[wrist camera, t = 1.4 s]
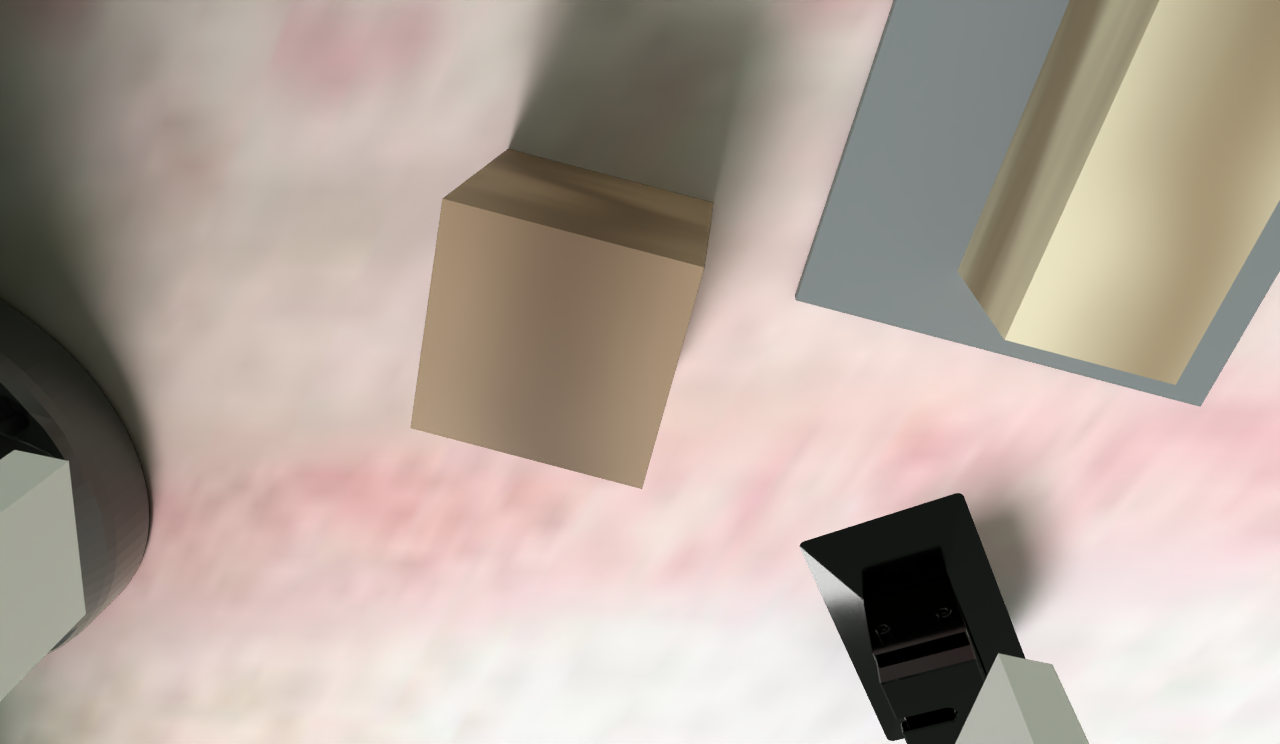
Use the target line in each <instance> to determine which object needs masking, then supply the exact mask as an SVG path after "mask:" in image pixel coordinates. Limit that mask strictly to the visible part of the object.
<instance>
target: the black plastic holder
mask: <svg viewBox="0 0 1280 744" xmlns="http://www.w3.org/2000/svg"><path fill="white" fill-rule="evenodd" d="M800 549H801V551H802V553H803V556H804V558H805V560H806V562H807V564H808V566H809V569H810V571H811V573H812V575H813V577H814V580H815V582H816V584H817V586H818V588H819V591H820V593H821V595H822V597H823V599H824V601H825V604H826V606H827V608H828V610H829V612H830V615H831V617H832V619H833V621H834V623H835V626H836V628H837V630H838V632H839V634H840V636H841V639H842V641H843V643H844V645H845V647H846V650H847V652H848V654H849V656H850V658H851V661H852V663H853V665H854V667H855V669H856V671H857V674H858V676H859V678H860V680H861V682H862V685H863V687H864V689H865V691H866V693H867V696H868V698H869V700H870V702H871V704H872V706H873V709H874V711H875V713H876V715H877V717H878V720H879V722H880V724H881V726H882V728H883V731H884V733H885V735H886V737H887V739H888V740H890V741H895V740H899V739H904V738H905V740H906V743H907V744H955V743H956V741H957V739H958V737H959V735H960V733H961V730H962V728H963V726H964V724H965V722H966V720H967V718H968V716H969V714H970V712H971V709H972V707H973V705H974V703H975V701H976V699H977V697H978V695H979V693H980V691H981V688H982V686H983V684H984V682H985V680H986V678H987V676H988V674H989V672H990V669H991V667H992V665H993V663H994V661H995V659H996V657H997V655H998V653H999V654H1004V655H1009V656H1013V657H1018V658H1023V659H1025V656H1024V654H1023V651H1022V648H1021V646H1020V643H1019V640H1018V638H1017V635H1016V633H1015V630H1014V627H1013V625H1012V622H1011V619H1010V617H1009V614H1008V611H1007V609H1006V606H1005V604H1004V601H1003V598H1002V596H1001V593H1000V590H999V588H998V585H997V583H996V580H995V577H994V575H993V572H992V569H991V567H990V564H989V561H988V559H987V556H986V554H985V551H984V548H983V546H982V543H981V540H980V538H979V535H978V533H977V530H976V527H975V525H974V522H973V519H972V517H971V514H970V511H969V509H968V506H967V504H966V501H965V498H964V496H963V495H962V494H960V493H956V494H953V495H949V496H946V497H943V498H940V499H937V500H934V501H931V502H927V503H924V504H921V505H918V506H915V507H912V508H908V509H905V510H902V511H899V512H896V513H893V514H889V515H886V516H883V517H880V518H877V519H874V520H870V521H867V522H864V523H861V524H858V525H855V526H852V527H848V528H845V529H842V530H839V531H836V532H833V533H829V534H826V535H823V536H820V537H817V538H814V539H810V540H807V541H804V542H802V543H801V544H800Z"/></svg>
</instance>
